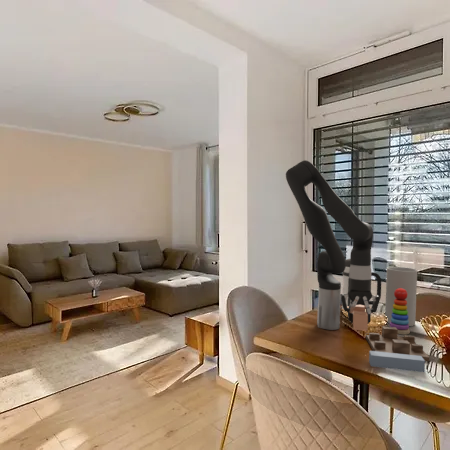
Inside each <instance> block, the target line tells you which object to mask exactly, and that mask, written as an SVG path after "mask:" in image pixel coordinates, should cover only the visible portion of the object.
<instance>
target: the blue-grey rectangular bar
mask: <svg viewBox="0 0 450 450" xmlns="http://www.w3.org/2000/svg"><path fill="white" fill-rule="evenodd" d="M368 354H369V355H368V363H369V365H370V367H373V368H381V369H390V370H392V369H393V370H398V371H399V370H400V371H410V372H418V373H425V369H426V361H425V360H424V359H423V358H422V356H416V355H407V354H397V353H387V352H378V351H373V350H369V352H368Z"/></svg>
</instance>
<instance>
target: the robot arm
mask: <svg viewBox="0 0 450 450" xmlns="http://www.w3.org/2000/svg"><path fill="white" fill-rule="evenodd" d="M285 179H286V181H287V185H288V187H289V188H290V191H291V193H292V195H293V197H294V199H295V200H296V203H297V204H298V206H299V209H300V212H301V214H302V218H303V219H304V223H305V225H306V229H308V232H309V234H310V235H311V236H312V237H313V238H314V239H315V240H316V241H317V242H318V243H319V244H320V245H321V246H322V247H323V249H324V250H323V251H321V252H320V253H319V255H318V257H317V262H316V266H317V267H316V270H317V271H316V272H317V275H316V276H317V282H318V299H317V300H318V301H317V321H316V323H317V328H318V329H319V328H320V329H323V330H331V331H333V330H334V331H335V330H339V329H340V325H341V319H340V318H341V310H340V309H341V305H343V308H342V310H343V309H344V310H345V311H344V312H346V311H347V312H348V316H347V319H348V321H349V323H350V324H353V310H354V308H355V306H356V305H364V307H365V309H366V312H367V314H368V325H369V323H371V314H373V313H377V311H378V306H379V304H380V300H381V298H380V297H379V296H377V294H373V293H372V276H371V272H372V247H373V238H374V232H373V231H374V230H373V227H372V226H371V224H369V223H367V222H364V221H362V220H361V219H359V217H358V216H357V215H356V214H355V212H354V210H353V209H352V208H351V207H350V206H349V205H348V204H347V203H346V202H345V201H344V200H343V199H342V198H341V197H339V196H338V194H337V193H336V192H335V190H334V189H333V188H332V187H331V186H330V184H329V182H328V181H327V180H326V179H325V177H324V176H323V175H322V174H321V172H320V171H319V169H318V168H317V167H316V166H315V165H314V164H313V163H312V162H310V161H309V160H305V159H304V160H301V161H300V162H298V163H297V164H295V165H293V166H292V167H290V168H288V170H287V171H286V173H285ZM309 184H313V185H314V186H315V187H316V188H317V190H318V193H319V194H320V198H321V201H322V205H323V207H322V205H319V204H318V203H316V202H315V201H314V200H312V199H311V198H310V196H309V195H308V193H307V191H306V188H305V187H307V186H308V185H309ZM328 215H330V217H331V218H332V219H333V220H334V221H335V222H337V223H338V224H339V226H340V227H341V228H342V230H343V231H344V232H345V233H346V235H347V236H348V237H349V238H350V239H351V240H352V241H353V242H352V248H351V251H350V258H349V259H350V270H349V292H348V294H343V293H341V292H342V290H341V289H342V286H341V285H342V284H341V282H340V280H338V279H336V277H334V275H333V274H335V275H336V274H343V272H344V270H345V268H346V260H347V259H346V258H345V254H344V253H343V250H342V248H341V246H340V244H339V242H338V240H337V238H336V236H335V233H334V230H333V229H332V228H333V227H332V225H331V223H330V219H329V217H328ZM347 297H349V298H350V299H351V302H350V306H349V308H347V304H346V300H347ZM371 299H372V300H371ZM369 301H373V304H372V306H370V305H369V304H368V302H369ZM370 307H371V308H370ZM347 312H346V313H347Z"/></svg>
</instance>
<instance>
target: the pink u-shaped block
mask: <svg viewBox="0 0 450 450" xmlns="http://www.w3.org/2000/svg"><path fill="white" fill-rule="evenodd" d="M368 325H369V324H368V314H367V312H365V307H364V305H356V306H355V308H354V310H353V323H352V328H353V330H355V331H364V332H368V328H369V327H368Z"/></svg>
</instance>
